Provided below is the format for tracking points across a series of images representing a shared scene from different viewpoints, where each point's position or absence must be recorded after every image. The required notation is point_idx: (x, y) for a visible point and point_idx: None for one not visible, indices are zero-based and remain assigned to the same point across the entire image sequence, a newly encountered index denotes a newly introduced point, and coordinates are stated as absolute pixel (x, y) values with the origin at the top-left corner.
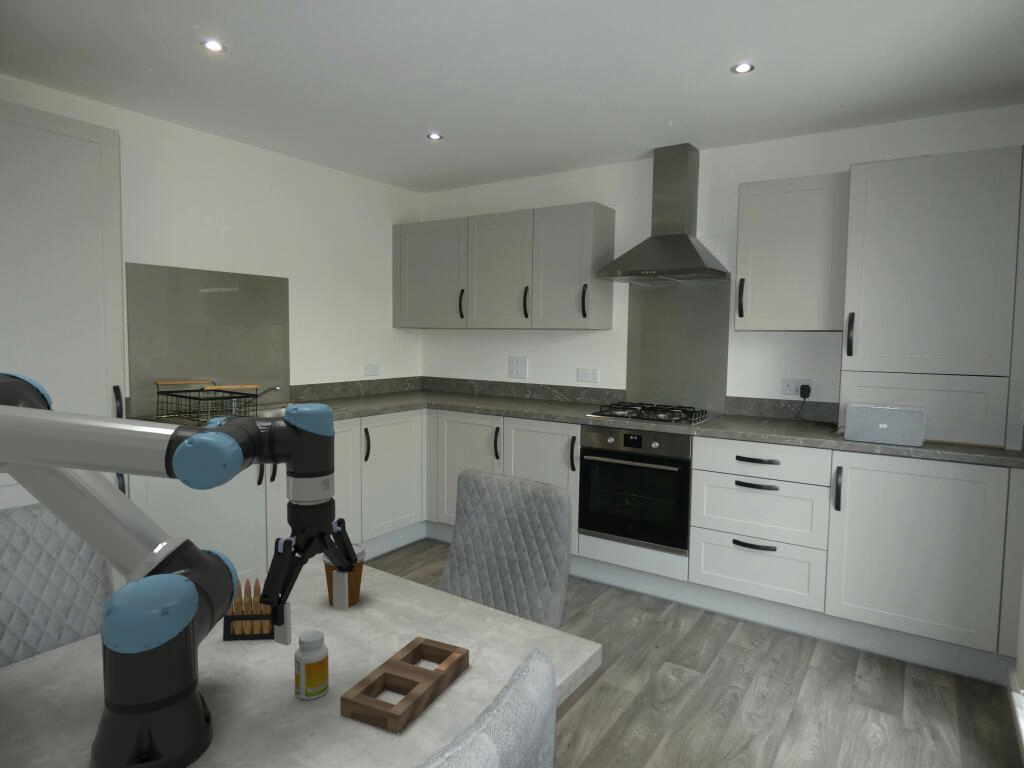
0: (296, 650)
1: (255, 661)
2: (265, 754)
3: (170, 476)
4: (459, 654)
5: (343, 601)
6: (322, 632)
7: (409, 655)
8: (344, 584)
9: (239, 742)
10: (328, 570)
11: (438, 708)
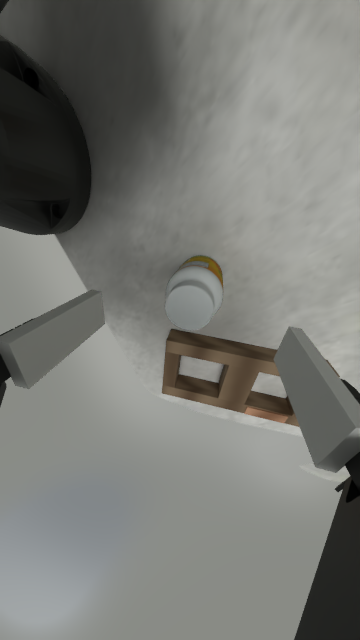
0: (178, 276)
1: (266, 91)
2: None
3: None
4: (283, 421)
5: (282, 370)
6: (206, 323)
7: None
8: (298, 420)
9: (92, 257)
10: None
11: None
